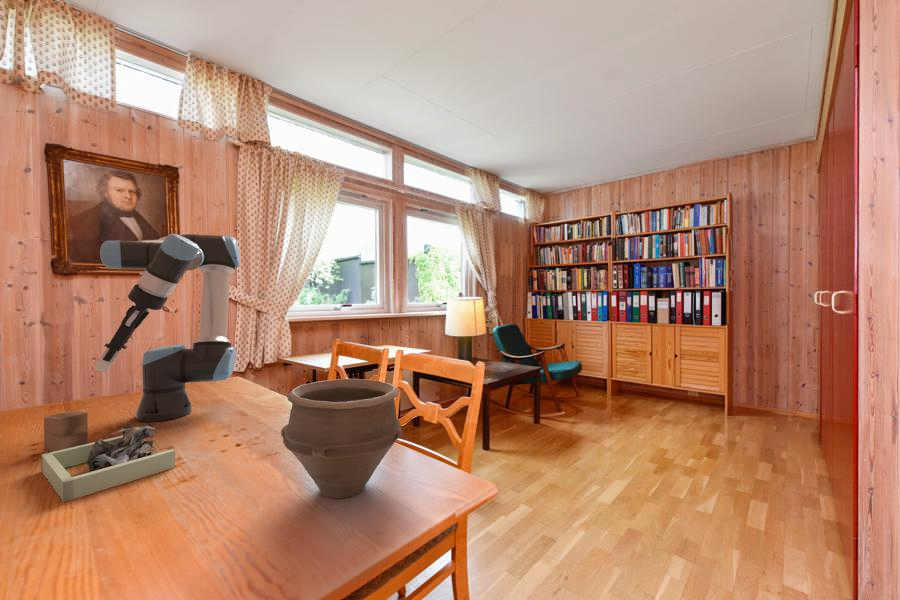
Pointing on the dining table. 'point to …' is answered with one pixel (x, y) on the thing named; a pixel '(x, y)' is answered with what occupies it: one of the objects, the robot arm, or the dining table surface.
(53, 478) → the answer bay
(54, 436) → the walnut block
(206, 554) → the dining table surface
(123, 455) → the grey crumpled lump
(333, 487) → the planter
